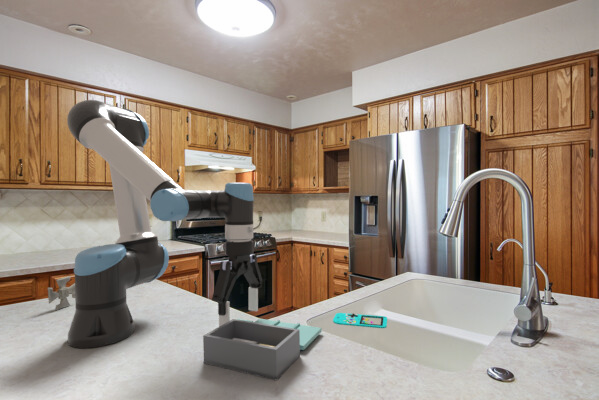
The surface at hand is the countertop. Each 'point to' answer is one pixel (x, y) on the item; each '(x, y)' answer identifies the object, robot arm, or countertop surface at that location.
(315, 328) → the lid
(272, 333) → the tub
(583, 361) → the countertop surface
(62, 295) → the cross
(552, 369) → the countertop surface
